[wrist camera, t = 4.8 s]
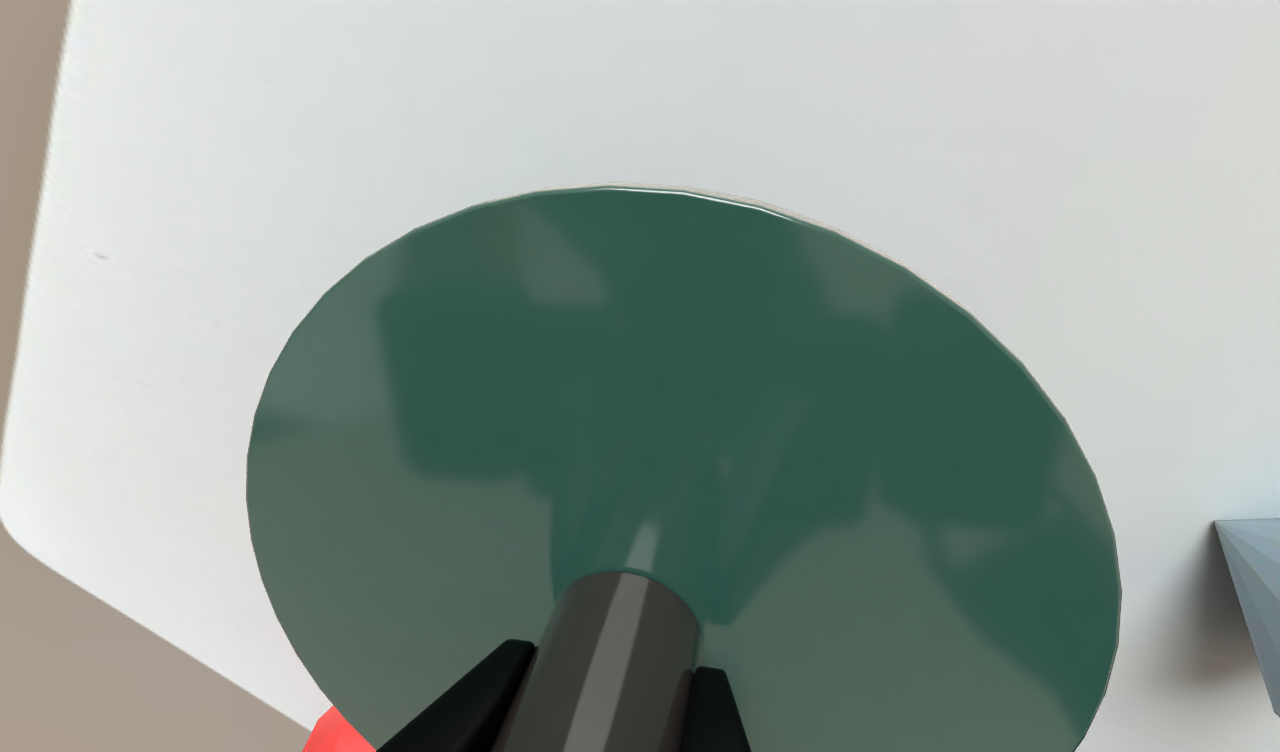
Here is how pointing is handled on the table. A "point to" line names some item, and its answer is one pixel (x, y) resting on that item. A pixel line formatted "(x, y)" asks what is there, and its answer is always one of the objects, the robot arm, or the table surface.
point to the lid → (678, 487)
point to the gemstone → (1257, 589)
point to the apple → (335, 735)
